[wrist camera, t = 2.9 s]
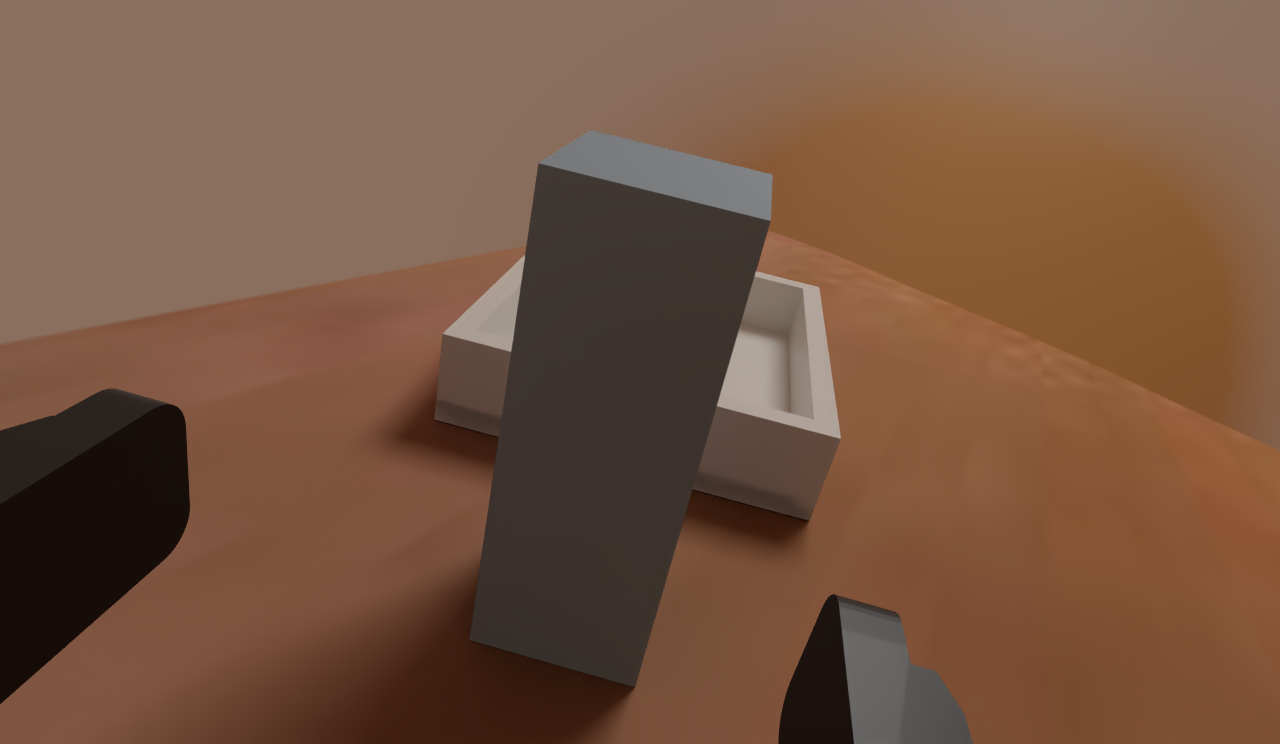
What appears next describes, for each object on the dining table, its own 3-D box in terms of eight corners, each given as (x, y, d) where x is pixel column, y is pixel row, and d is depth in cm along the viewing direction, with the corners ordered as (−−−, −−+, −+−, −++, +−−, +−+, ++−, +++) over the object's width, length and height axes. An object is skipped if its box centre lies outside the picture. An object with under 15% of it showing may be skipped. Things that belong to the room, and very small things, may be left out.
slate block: (659, 573, 27) (772, 174, 20) (634, 687, 22) (770, 220, 16) (520, 535, 27) (590, 130, 21) (469, 640, 22) (538, 163, 16)
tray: (799, 347, 47) (819, 287, 45) (809, 520, 31) (840, 438, 29) (549, 282, 48) (559, 221, 46) (434, 419, 32) (442, 333, 30)
